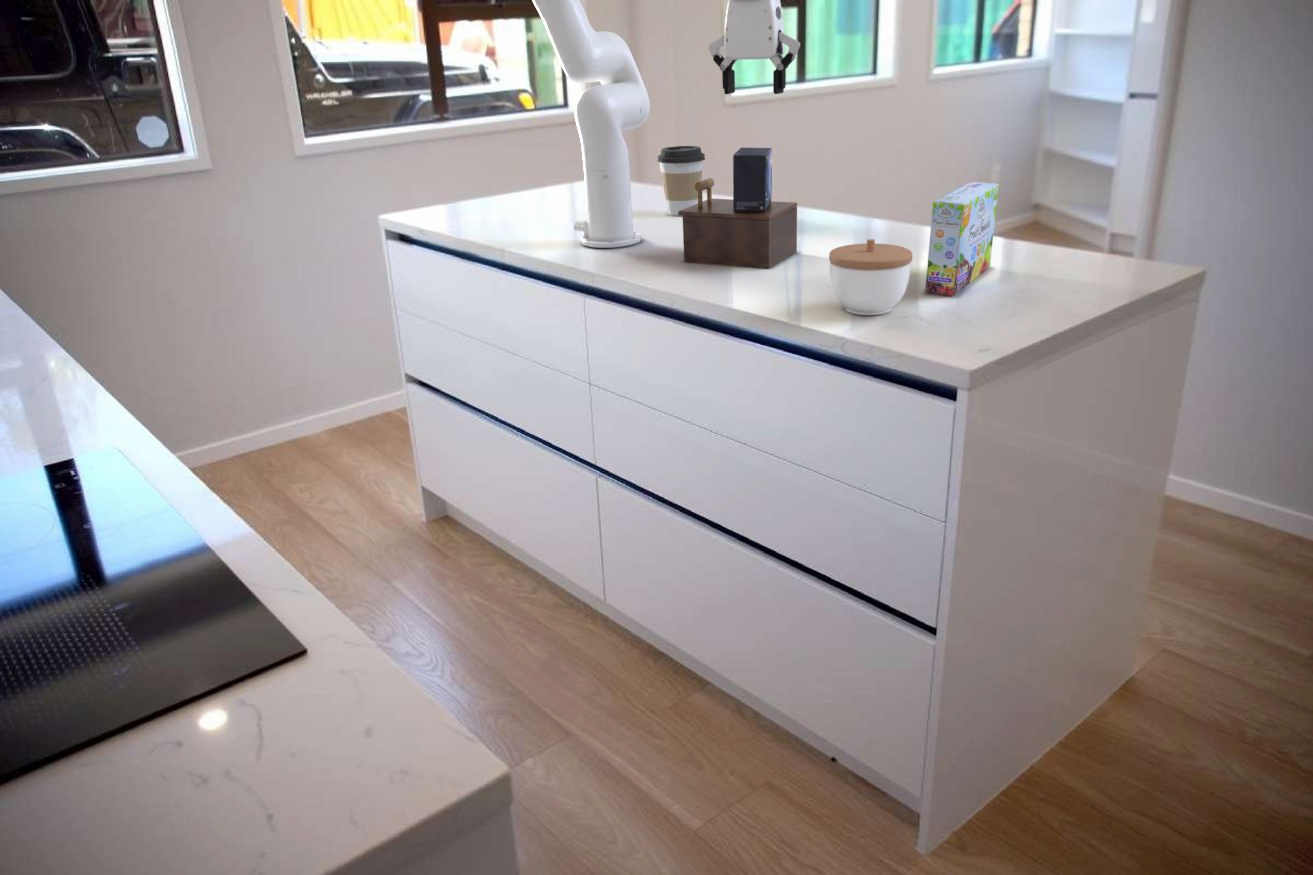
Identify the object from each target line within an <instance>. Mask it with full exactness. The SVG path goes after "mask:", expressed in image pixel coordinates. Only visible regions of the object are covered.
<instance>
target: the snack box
mask: <svg viewBox="0 0 1313 875" xmlns="http://www.w3.org/2000/svg"><path fill="white" fill-rule="evenodd" d="M999 188H1000V184H999V183H990V182H978V181H977V182H976V181H975V182H973V181H971V182H968V183H967V184H965V185H963V186H961V187H959V188H957V189H956V190H954V191H951V192H950V193H947V194H946V195H944V196H942V197H940V198H938V199H937V200H934V201H933V202H932V210H931V221H930V222H931V223H930V234H929V245H928V256H927V267H926V277H925V287H924V293H930V294H937V295H944V296H953V297H954V296H955V295H956V294H958V293H959V292H961V291H962V290H963V289H964V288H966V286H968V285H969V284H970V283H972V282H973V281H975V280H976V279H977V278H979V277H980V276H981V275H983V274H984V273H985V272H986V271H987V270H989V269H990V268H991V260H992V250H993V242H994V232H995V223H996V215H997V206H998V197H999Z"/></svg>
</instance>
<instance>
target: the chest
mask: <svg viewBox="0 0 1313 875" xmlns="http://www.w3.org/2000/svg"><path fill="white" fill-rule="evenodd" d="M682 238H683V241H682V242H683V262H685V263H692V264H693V263H694V264H705V265H718V266H729V267H743V268H753V269H768V270H769V269H772V268H773V267H774V266H777V265H778V264H780V263H781V262H783V261H785V260H787V259H788V258H790V257H791V256H793V255H795V254H796V253H798V252H797V251H798V206H797V207H795V208H793V209H791V210H789V211H787V212H785V213H783V214H781V215H779V216H777V217H775V218H773V219H771V220H753V219H735V218H717V217H699V216H682Z"/></svg>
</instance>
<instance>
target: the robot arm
mask: <svg viewBox="0 0 1313 875" xmlns="http://www.w3.org/2000/svg"><path fill="white" fill-rule="evenodd" d="M531 1H532V3H533V5H534V7H535V8H536V10H537V12H538V14H539V16H540V18H541V20H542V22H543V25H544V26H545V29H546V31H547V35H548V37H549V40H550V41H551V44H552V47H553V49H554V51H555V54H556V57H557V59H558V61H559V63H560V66H561V68H562V70H563V72H564V74H565V75H566V77H567V78H568V80H570V81H571V82H573V83H576V84H588V83H589V84H590V83H596V82H599V83H600V84H598V85H597V84H596V85H593V86H590V87H588V88H586V89H584V90H583V91H582V92H581V93H580V94H579V95H578V96H577V99H576V101H575V103H574V120H575V124H576V128H577V132H578V134H579V140H580V145H581V154H582V155H581V156H582V165H583V167H582V168H583V176H584V178H583V179H584V189H585V205H586V217H587V218H586V220H576V221H575V223H574V226H573V230H574V231H575V232H583V236H582V237H581V244H582V245H583V246H585V247H588V248H596V249H610V248H612V249H613V248H623V247H628V246H632V245H636V244H639V243H640V241H642V235H641V233H639V232H636V231H634V224H633V223H634V221H633V202H632V186H631V184H632V183H631V169H630V168H631V167H630V166H631V165H630V155H629V149H628V146H627V144H626V142H625V139H624V137H623V134H622V132H625V131H630V130H634V129H638V128H639V127H641V126H643V125H644V124H645V123H646V121H647V120H648V119H649V116H650V112H651V103H650V97H649V94H648V91H647V88H646V86H645V83H644V80H643V77H642V76H641V73H640V71H639V69H638V66H637V64H636V61H635V59H634V56H633V54H632V52H631V49H630V47H629V45H628V44H627V43H626V41H625V40H624V39H623V38H622V37H621V36H620V35H618V34H617V33H615V32H612V31H608V30H607V31H606V30H602V31H601V30H599V31H596V30H595V29H594V28H593V27H592V25H591V23H590V21H589V18H588V16H587V13H586V11H585V8H584V6H583V5H582V3H581V1H580V0H531ZM783 17H784V16H783V9H782V3H781V0H728V2H727V7H726V13H725V22H724V34H723V35H722V36H721V37H720V38H718V39H716V40H715V41H713V42H712V43H710V44H709V45H708V50H709V52H710V54H711V57H712V59H713V62H714V63H715V65H717V66H718V67H719V70H720V71H721V72H722V73H721V74H722V89H723V94H724V95H731V94H734V93H735V92H736V73H735V69H733V67H734V66H735V64H736V63H737V61H738V60H741V61H742V60H767V59H769V60H770V61H771V63H772V65H773V66H774V67H775V70H773V72H772V74H773V76H772V77H773V78H772V79H773V81H772V82H773V83H772V87H773V88H772V89H773V90H772V91H773V94H774V95H779V94H783V93H784V90H785V89H786V84H787V83H786V82H787V80H786V79H787V69H788V68H789V66H790V65H791V64H792V62H794V60H795V59H796V55H797V54H798V52H799V49H800V47H801V42H800V41H798V40H796V39H795V38H793V37H792V36H789V35H788V34H786V33H785V28H784V27H785V26H784V18H783ZM785 45H786V46H787V47H788V51H787V53H786V54H785V56H783V55H784V53H785V47H786V46H785ZM723 46H724V55H725V57H724V56H723V55H722V54H721V51H720V49H721V48H722V47H723Z"/></svg>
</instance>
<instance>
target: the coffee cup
mask: <svg viewBox="0 0 1313 875" xmlns="http://www.w3.org/2000/svg"><path fill="white" fill-rule="evenodd" d="M705 156H706V154H705V153H704V152H702V148H701V147H700V146H698V145H697V146H696V145H675V146H667V147H663V148H662V149H660V154H659V155H658V156H657V160H656V162H657V163H659V168H660V175H661V181H662V186H663V192H664V200H665V204H666V210H667V212H668V216H669V215H670V216H673V217H683V216H682V215H678V211H680V210H683V209H685V208H688V207H690V206H693V205H695V204H698V191H696V190H695V184H696V183H697V182H699V181H702V179H703V166H704V161H705V160H706V157H705Z"/></svg>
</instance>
